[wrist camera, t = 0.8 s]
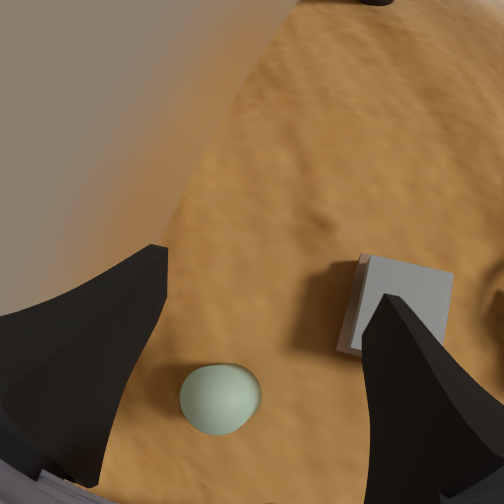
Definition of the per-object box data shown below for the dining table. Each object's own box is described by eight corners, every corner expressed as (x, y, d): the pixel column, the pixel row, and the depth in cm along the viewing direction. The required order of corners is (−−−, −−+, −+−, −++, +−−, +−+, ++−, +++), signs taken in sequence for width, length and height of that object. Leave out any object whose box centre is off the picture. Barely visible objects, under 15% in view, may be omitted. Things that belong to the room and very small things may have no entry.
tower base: (419, 369, 21) (430, 371, 18) (334, 350, 22) (336, 350, 20) (438, 282, 22) (449, 274, 20) (357, 262, 24) (361, 252, 22)
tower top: (428, 363, 18) (438, 364, 17) (347, 347, 20) (350, 347, 18) (443, 279, 20) (453, 273, 18) (366, 262, 21) (371, 254, 19)
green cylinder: (250, 431, 21) (237, 445, 18) (193, 409, 23) (171, 418, 19) (269, 374, 23) (259, 380, 19) (211, 354, 24) (191, 355, 20)
